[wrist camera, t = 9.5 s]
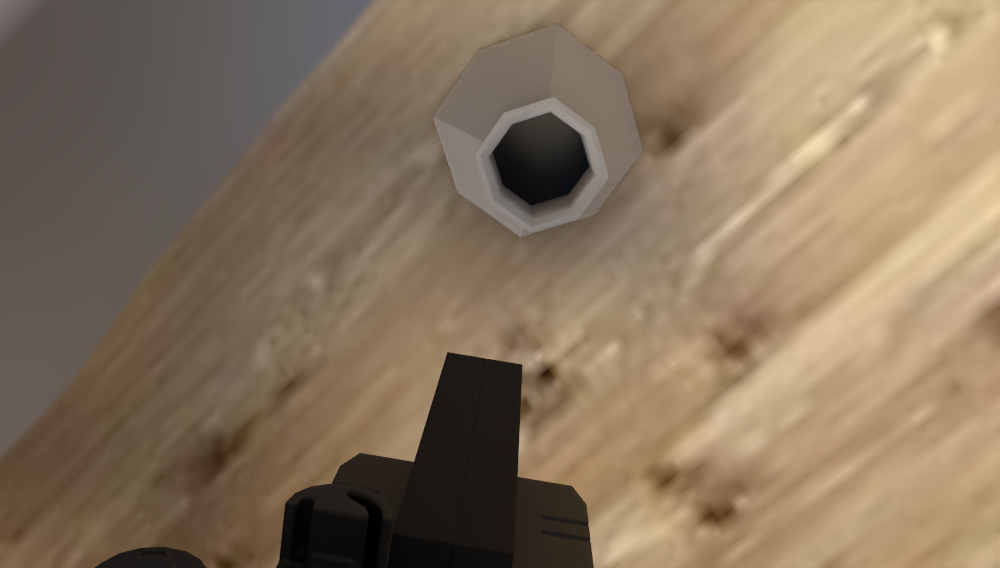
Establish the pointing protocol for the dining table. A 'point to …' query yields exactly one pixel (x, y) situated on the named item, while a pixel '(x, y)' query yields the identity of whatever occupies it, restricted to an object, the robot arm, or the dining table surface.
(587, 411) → the dining table surface
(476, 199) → the flask
